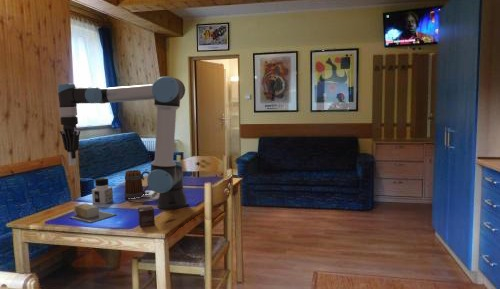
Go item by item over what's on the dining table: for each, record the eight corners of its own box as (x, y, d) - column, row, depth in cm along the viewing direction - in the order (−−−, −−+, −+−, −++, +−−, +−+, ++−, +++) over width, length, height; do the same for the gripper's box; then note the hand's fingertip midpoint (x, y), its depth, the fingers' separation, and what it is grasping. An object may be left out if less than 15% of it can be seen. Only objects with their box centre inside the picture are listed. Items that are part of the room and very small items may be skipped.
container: (105, 204, 204) (103, 179, 203) (92, 203, 206) (90, 179, 204) (113, 200, 212) (112, 177, 210) (100, 200, 213) (99, 176, 212)
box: (152, 222, 171) (151, 205, 170) (155, 225, 166) (154, 209, 165) (138, 223, 169) (137, 207, 168) (140, 227, 163) (139, 210, 163)
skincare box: (85, 202, 188) (99, 206, 181) (86, 211, 189) (99, 215, 181) (73, 205, 183) (86, 209, 176) (73, 214, 184) (86, 218, 176)
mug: (122, 200, 212) (120, 173, 211) (127, 195, 223) (125, 170, 221) (151, 198, 213) (149, 172, 212) (154, 194, 224) (153, 169, 222)
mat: (116, 215, 183) (116, 214, 183) (90, 223, 171) (90, 222, 171) (95, 210, 191) (95, 209, 191) (69, 218, 180) (69, 216, 180)
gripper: (84, 115, 183) (87, 164, 186) (68, 116, 191) (72, 163, 193) (69, 116, 177) (73, 167, 180) (53, 116, 184) (57, 165, 187)
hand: (72, 165), depth 186 cm, fingers closed
